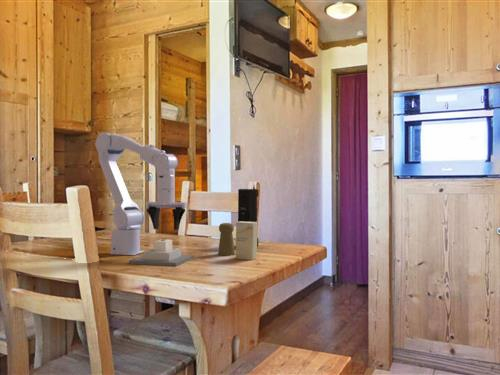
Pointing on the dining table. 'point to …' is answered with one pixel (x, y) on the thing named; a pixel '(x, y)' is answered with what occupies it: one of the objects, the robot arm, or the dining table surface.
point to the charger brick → (163, 245)
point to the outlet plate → (162, 258)
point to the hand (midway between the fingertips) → (166, 229)
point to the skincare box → (246, 240)
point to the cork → (226, 240)
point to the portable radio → (247, 205)
